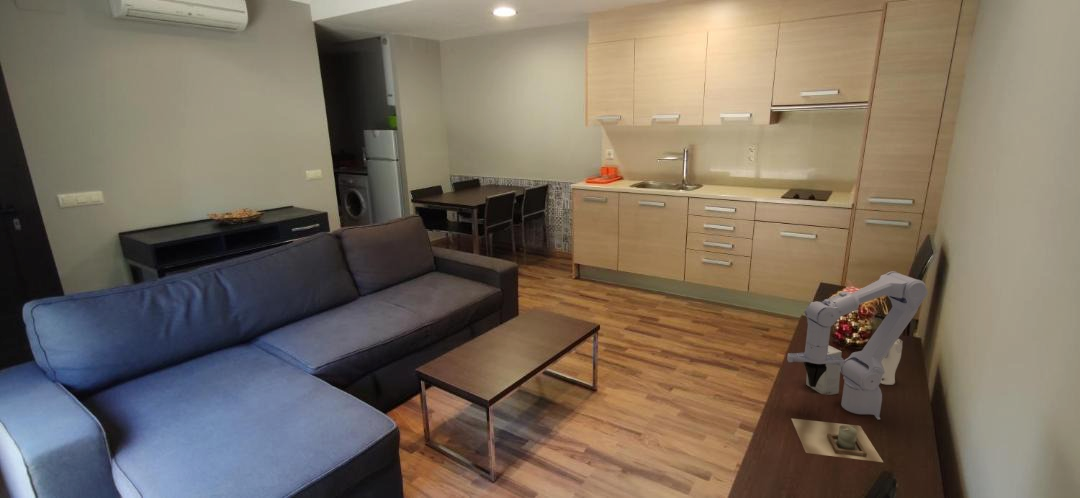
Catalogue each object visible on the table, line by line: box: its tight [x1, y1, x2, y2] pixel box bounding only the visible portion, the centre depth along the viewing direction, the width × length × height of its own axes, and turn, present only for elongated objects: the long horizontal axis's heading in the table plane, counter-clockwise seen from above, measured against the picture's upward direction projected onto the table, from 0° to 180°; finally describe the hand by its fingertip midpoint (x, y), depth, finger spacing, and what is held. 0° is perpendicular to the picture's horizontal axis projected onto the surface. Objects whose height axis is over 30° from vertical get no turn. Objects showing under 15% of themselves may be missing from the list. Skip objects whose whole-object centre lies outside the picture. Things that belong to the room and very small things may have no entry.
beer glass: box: [880, 338, 904, 386], centre depth 163 cm, size 7×7×15 cm
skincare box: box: [805, 345, 843, 396], centre depth 159 cm, size 8×6×15 cm
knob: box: [837, 425, 857, 450], centre depth 130 cm, size 4×4×5 cm
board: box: [790, 418, 884, 463], centre depth 134 cm, size 18×16×2 cm
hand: (812, 385), depth 145 cm, fingers closed
